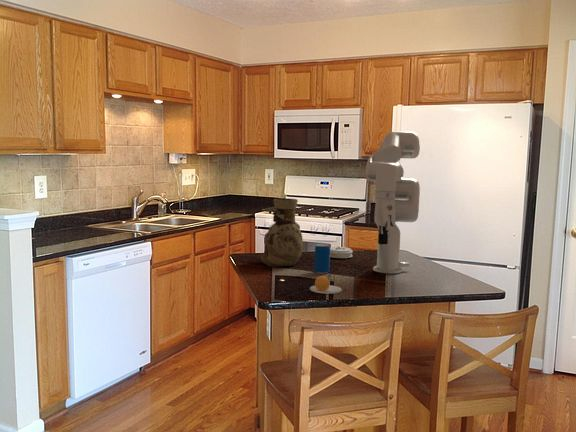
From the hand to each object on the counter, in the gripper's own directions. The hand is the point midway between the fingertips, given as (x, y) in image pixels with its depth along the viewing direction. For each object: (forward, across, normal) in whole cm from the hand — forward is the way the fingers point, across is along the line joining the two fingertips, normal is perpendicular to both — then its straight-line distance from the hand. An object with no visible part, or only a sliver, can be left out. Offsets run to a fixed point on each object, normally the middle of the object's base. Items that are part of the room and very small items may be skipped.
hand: (382, 243), depth 196 cm
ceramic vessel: (+17, +45, +30) cm, 57 cm away
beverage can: (+17, +27, +16) cm, 36 cm away
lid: (+18, +59, -2) cm, 62 cm away
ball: (+14, -2, +24) cm, 28 cm away
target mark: (+17, 0, +22) cm, 28 cm away
